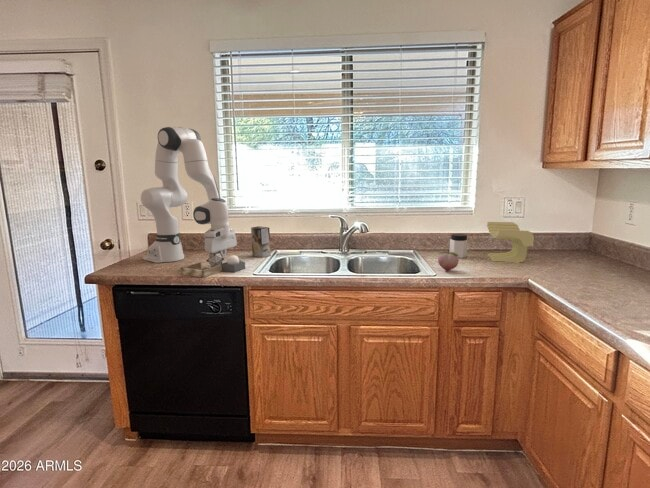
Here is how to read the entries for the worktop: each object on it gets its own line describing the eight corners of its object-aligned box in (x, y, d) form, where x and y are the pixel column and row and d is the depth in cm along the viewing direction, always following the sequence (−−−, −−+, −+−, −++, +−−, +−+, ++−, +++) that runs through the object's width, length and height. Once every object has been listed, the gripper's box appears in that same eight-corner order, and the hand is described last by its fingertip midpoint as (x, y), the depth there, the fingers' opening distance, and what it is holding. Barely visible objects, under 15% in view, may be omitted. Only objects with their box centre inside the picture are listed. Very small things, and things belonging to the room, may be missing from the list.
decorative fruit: (459, 269, 184) (460, 248, 182) (457, 273, 177) (458, 252, 175) (438, 267, 188) (439, 247, 186) (436, 271, 181) (437, 250, 179)
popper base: (221, 270, 186) (221, 263, 185) (232, 266, 193) (232, 260, 192) (234, 272, 183) (234, 265, 182) (245, 268, 190) (244, 261, 189)
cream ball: (224, 270, 186) (223, 256, 185) (232, 267, 192) (231, 253, 190) (234, 271, 184) (233, 257, 183) (242, 268, 189) (241, 254, 188)
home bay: (181, 274, 180) (181, 267, 180) (200, 268, 191) (199, 262, 190) (203, 277, 174) (203, 271, 174) (221, 271, 185) (221, 265, 184)
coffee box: (271, 255, 218) (270, 227, 215) (262, 257, 213) (261, 228, 210) (260, 253, 224) (259, 225, 220) (251, 255, 219) (250, 227, 216)
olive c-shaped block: (531, 267, 187) (534, 230, 184) (495, 265, 191) (498, 230, 187) (515, 254, 216) (518, 222, 213) (485, 252, 219) (487, 221, 216)
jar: (469, 257, 208) (470, 235, 206) (455, 258, 206) (456, 236, 204) (460, 254, 216) (461, 233, 214) (446, 255, 215) (448, 233, 212)
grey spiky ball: (218, 275, 190) (216, 263, 183) (203, 268, 192) (201, 256, 184) (228, 262, 196) (227, 250, 188) (214, 256, 197) (212, 244, 190)
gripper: (229, 228, 202) (230, 253, 205) (201, 234, 184) (203, 262, 187) (238, 228, 200) (240, 254, 202) (211, 234, 181) (214, 263, 184)
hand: (222, 258), depth 194 cm, fingers closed
